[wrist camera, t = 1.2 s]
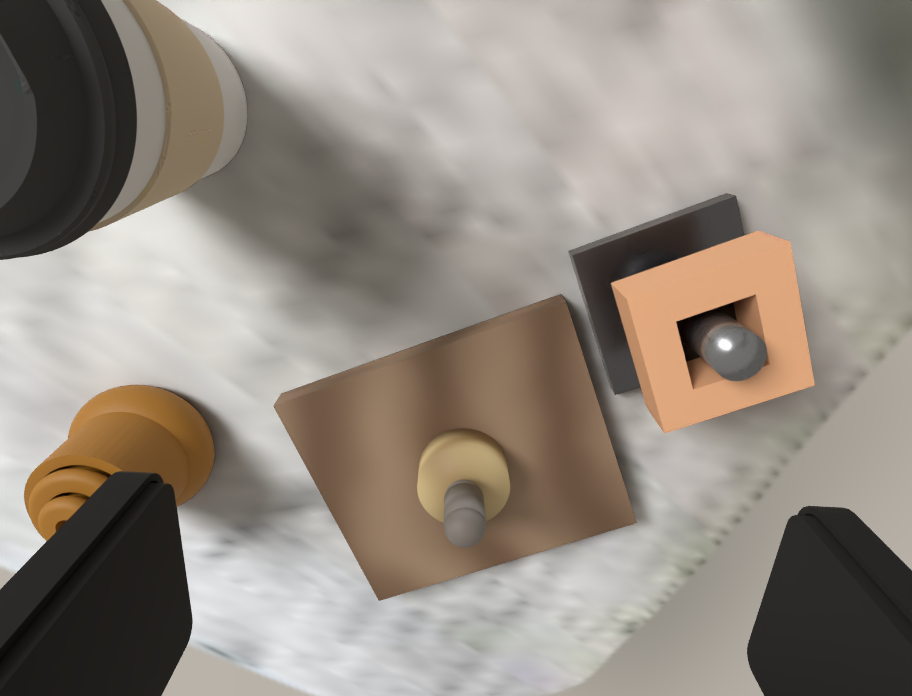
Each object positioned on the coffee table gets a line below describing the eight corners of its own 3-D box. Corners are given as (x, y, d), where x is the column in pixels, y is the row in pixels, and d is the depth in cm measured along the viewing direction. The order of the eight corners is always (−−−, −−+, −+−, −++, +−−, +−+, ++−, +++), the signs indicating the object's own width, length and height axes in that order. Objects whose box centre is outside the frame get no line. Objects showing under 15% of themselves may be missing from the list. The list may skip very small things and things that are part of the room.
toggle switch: (561, 294, 30) (593, 345, 23) (629, 506, 35) (673, 602, 28) (281, 393, 32) (233, 469, 25) (381, 582, 37) (365, 690, 30)
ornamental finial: (89, 485, 34) (81, 368, 32) (219, 502, 35) (222, 388, 32) (-11, 586, 27) (-33, 444, 24) (155, 605, 27) (153, 469, 25)
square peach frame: (758, 230, 25) (790, 241, 22) (783, 362, 27) (814, 385, 24) (610, 283, 25) (626, 299, 23) (646, 407, 28) (664, 433, 25)
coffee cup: (154, 235, 29) (-122, 340, 15) (27, 55, 26) (-462, -24, 12) (309, 146, 28) (163, 169, 14) (193, -56, 25) (-145, -290, 11)
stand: (726, 193, 28) (832, 220, 21) (756, 338, 31) (859, 411, 23) (568, 251, 29) (611, 298, 22) (610, 387, 32) (662, 473, 24)
